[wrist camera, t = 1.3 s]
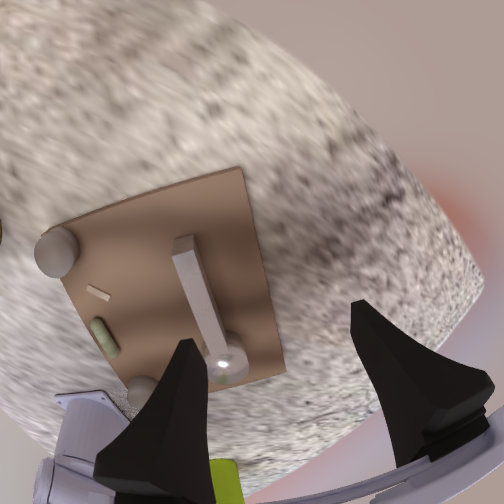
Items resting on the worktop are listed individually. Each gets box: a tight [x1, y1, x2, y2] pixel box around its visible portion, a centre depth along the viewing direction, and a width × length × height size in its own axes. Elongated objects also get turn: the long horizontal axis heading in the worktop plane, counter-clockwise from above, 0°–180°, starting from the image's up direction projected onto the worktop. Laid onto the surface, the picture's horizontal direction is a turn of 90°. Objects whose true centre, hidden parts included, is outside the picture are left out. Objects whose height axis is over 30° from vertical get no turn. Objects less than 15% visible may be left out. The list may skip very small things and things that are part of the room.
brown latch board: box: [34, 167, 286, 410], centre depth 22 cm, size 20×16×4 cm
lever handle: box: [172, 234, 249, 385], centre depth 21 cm, size 12×4×3 cm, turn 12°
